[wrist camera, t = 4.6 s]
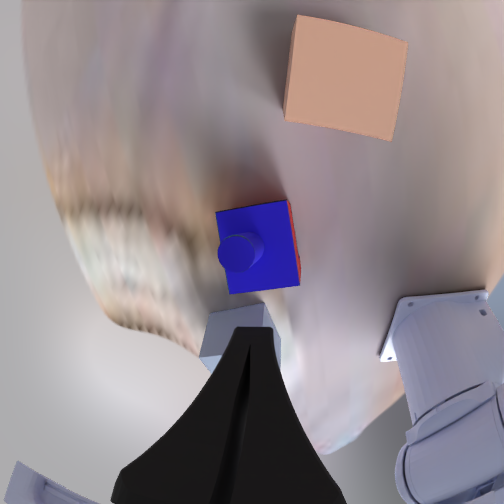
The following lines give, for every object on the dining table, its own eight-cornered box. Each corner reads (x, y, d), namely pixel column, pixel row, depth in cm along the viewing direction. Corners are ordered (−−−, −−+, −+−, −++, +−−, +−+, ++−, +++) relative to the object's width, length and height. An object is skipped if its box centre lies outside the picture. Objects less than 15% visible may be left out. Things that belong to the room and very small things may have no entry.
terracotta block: (374, 49, 12) (408, 42, 8) (363, 124, 14) (391, 141, 11) (291, 32, 12) (297, 14, 8) (282, 109, 14) (284, 120, 11)
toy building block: (291, 204, 19) (282, 194, 11) (301, 268, 19) (299, 301, 11) (238, 213, 20) (195, 210, 12) (248, 276, 20) (213, 311, 12)
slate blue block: (264, 301, 22) (260, 349, 18) (281, 338, 24) (280, 383, 20) (210, 312, 23) (198, 357, 19) (231, 346, 25) (224, 389, 21)
